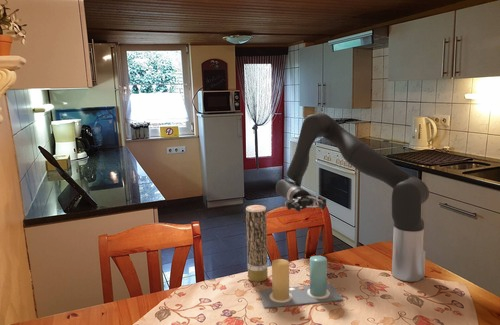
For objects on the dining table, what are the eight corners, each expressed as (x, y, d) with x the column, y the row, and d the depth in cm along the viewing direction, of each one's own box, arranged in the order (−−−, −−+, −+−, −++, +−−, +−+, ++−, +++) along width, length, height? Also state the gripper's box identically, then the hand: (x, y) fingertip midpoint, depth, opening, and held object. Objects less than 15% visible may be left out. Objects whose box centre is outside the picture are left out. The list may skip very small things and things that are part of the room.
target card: (331, 284, 119) (331, 283, 119) (343, 300, 109) (343, 298, 109) (259, 291, 116) (259, 289, 116) (264, 308, 106) (264, 306, 106)
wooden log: (268, 273, 128) (266, 204, 124) (267, 282, 121) (265, 210, 117) (249, 273, 128) (246, 204, 124) (246, 282, 122) (244, 210, 118)
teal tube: (323, 287, 116) (323, 255, 114) (329, 295, 111) (329, 262, 109) (307, 288, 115) (307, 256, 113) (312, 297, 110) (312, 263, 108)
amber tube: (287, 291, 114) (286, 258, 113) (291, 299, 109) (290, 265, 107) (271, 292, 114) (270, 259, 112) (274, 301, 109) (273, 267, 107)
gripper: (280, 189, 138) (290, 198, 122) (316, 186, 140) (331, 195, 124) (280, 208, 139) (291, 220, 123) (316, 205, 141) (331, 216, 125)
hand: (311, 207), depth 124 cm, fingers open, 8 cm apart
